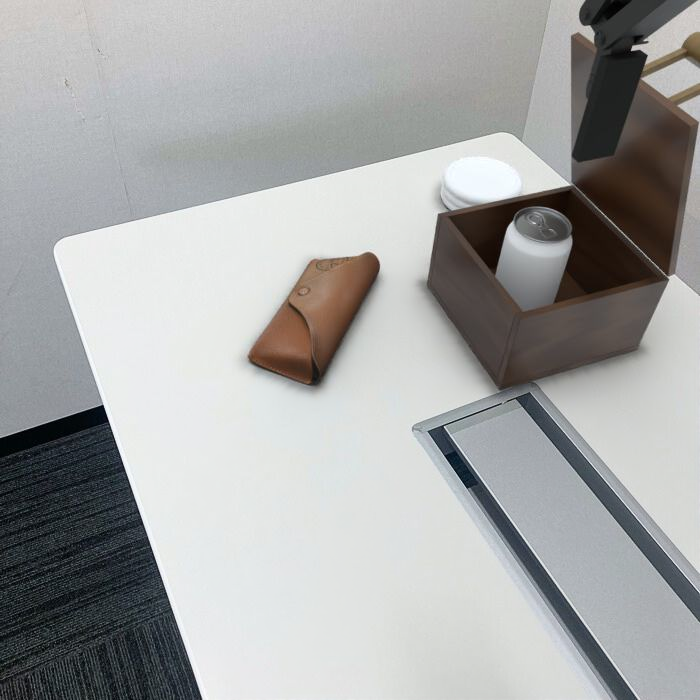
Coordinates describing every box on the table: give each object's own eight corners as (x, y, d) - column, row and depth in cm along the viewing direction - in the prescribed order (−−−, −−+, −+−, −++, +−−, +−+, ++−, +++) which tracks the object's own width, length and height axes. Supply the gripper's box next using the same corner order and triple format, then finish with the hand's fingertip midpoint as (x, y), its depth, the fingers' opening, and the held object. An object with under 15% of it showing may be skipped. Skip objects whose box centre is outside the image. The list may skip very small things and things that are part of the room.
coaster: (534, 204, 96) (540, 181, 94) (481, 233, 92) (486, 209, 89) (476, 169, 101) (481, 146, 99) (423, 195, 97) (427, 171, 94)
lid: (690, 126, 58) (804, 71, 59) (570, 35, 68) (668, -11, 69) (668, 277, 72) (760, 232, 72) (571, 182, 82) (652, 143, 83)
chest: (499, 390, 74) (520, 319, 67) (426, 284, 85) (437, 213, 78) (637, 349, 79) (670, 279, 72) (551, 254, 90) (573, 184, 82)
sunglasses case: (310, 254, 87) (339, 221, 82) (357, 291, 88) (389, 260, 83) (242, 361, 75) (272, 329, 70) (298, 402, 76) (331, 374, 71)
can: (527, 288, 84) (552, 198, 75) (559, 326, 80) (590, 236, 71) (476, 301, 82) (496, 211, 73) (507, 341, 78) (532, 251, 69)
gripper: (581, -301, 34) (496, 120, 50) (1145, -159, 19) (767, 391, 34) (711, -300, 37) (590, 103, 52) (1314, -173, 21) (887, 351, 36)
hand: (660, 218), depth 43 cm, fingers open, 13 cm apart
